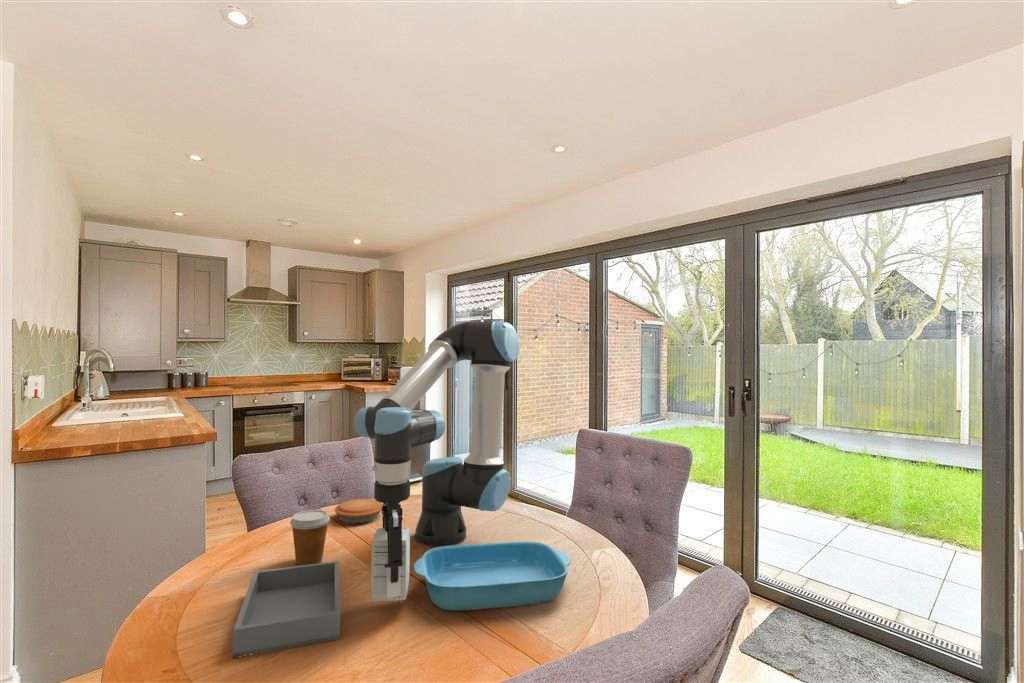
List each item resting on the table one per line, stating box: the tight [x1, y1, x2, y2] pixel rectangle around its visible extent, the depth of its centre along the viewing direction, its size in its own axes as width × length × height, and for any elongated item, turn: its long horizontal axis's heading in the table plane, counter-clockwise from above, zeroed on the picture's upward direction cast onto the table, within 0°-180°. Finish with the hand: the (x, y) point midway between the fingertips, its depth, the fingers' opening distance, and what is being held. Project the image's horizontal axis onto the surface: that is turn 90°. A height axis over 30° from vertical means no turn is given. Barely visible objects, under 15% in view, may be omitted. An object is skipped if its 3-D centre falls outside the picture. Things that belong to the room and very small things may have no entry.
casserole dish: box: [413, 540, 572, 611], centre depth 112 cm, size 37×22×7 cm, turn 104°
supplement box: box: [370, 526, 411, 602], centre depth 103 cm, size 7×7×13 cm
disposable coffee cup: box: [290, 509, 331, 566], centre depth 125 cm, size 10×10×12 cm
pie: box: [334, 498, 383, 524], centre depth 158 cm, size 15×16×5 cm
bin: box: [232, 560, 342, 659], centre depth 100 cm, size 18×24×5 cm
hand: (391, 585), depth 103 cm, fingers closed on supplement box, 8 cm apart
